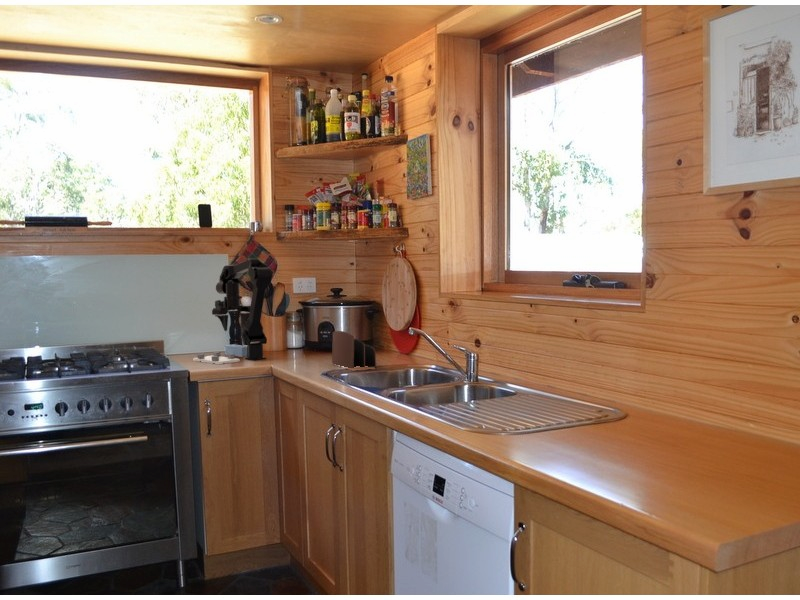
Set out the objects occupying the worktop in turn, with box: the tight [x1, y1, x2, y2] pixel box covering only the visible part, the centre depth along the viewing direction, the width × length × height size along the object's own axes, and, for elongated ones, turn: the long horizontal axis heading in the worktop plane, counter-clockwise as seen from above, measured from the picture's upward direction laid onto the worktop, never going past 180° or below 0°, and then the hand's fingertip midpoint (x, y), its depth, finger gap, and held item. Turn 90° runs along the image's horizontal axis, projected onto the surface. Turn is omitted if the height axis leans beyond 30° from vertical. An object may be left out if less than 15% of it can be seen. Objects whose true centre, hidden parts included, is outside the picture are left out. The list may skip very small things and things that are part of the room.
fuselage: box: [224, 343, 247, 358], centre depth 313 cm, size 14×4×4 cm, turn 49°
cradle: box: [192, 351, 241, 365], centre depth 296 cm, size 18×10×3 cm, turn 49°
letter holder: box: [331, 330, 377, 368], centre depth 276 cm, size 10×20×14 cm, turn 28°
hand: (234, 330), depth 313 cm, fingers open, 9 cm apart
